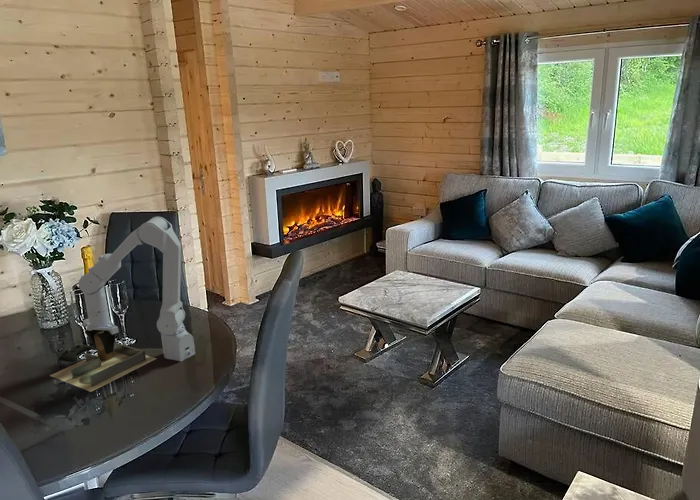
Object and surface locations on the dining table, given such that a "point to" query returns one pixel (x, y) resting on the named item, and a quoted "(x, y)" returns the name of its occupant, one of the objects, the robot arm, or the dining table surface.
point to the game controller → (75, 352)
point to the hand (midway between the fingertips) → (104, 350)
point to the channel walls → (94, 363)
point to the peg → (102, 349)
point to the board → (85, 379)
